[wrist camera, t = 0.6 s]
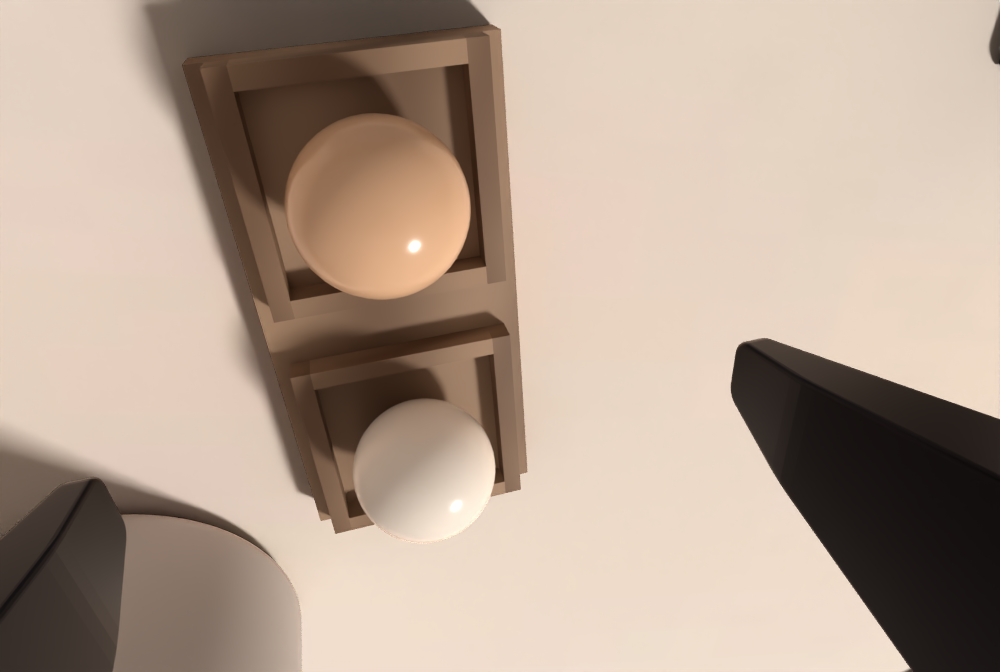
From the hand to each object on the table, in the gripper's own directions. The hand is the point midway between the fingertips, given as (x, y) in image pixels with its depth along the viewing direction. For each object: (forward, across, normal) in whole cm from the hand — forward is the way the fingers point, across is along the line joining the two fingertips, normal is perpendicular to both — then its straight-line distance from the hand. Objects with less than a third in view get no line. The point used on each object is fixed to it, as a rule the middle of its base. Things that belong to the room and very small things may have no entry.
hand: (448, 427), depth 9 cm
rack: (+12, 0, +5) cm, 13 cm away
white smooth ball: (+11, 0, +9) cm, 15 cm away
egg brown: (+11, 0, 0) cm, 11 cm away
